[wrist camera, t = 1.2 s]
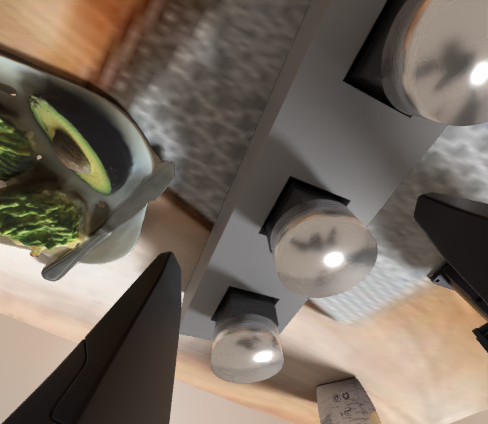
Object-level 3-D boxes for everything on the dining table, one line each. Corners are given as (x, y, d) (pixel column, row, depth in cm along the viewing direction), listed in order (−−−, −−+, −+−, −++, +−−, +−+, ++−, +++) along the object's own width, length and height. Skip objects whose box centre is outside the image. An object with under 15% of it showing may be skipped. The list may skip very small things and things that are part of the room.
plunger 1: (280, 281, 24) (297, 351, 18) (256, 315, 26) (264, 387, 20) (227, 266, 22) (226, 337, 16) (207, 304, 25) (201, 377, 19)
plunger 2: (456, 24, 14) (630, -12, 8) (391, 119, 16) (484, 146, 10) (381, -30, 12) (521, -125, 6) (322, 82, 15) (384, 89, 9)
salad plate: (137, 287, 28) (122, 323, 24) (-50, 239, 23) (-108, 274, 19) (192, 130, 19) (183, 145, 15) (-87, 5, 15) (-205, -20, 11)
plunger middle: (345, 186, 19) (399, 240, 13) (308, 240, 21) (339, 306, 15) (282, 160, 17) (310, 206, 11) (250, 221, 20) (260, 284, 14)
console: (475, 2, 16) (568, -25, 11) (260, 311, 30) (266, 350, 26) (352, -94, 13) (411, -174, 9) (184, 293, 28) (176, 333, 24)
